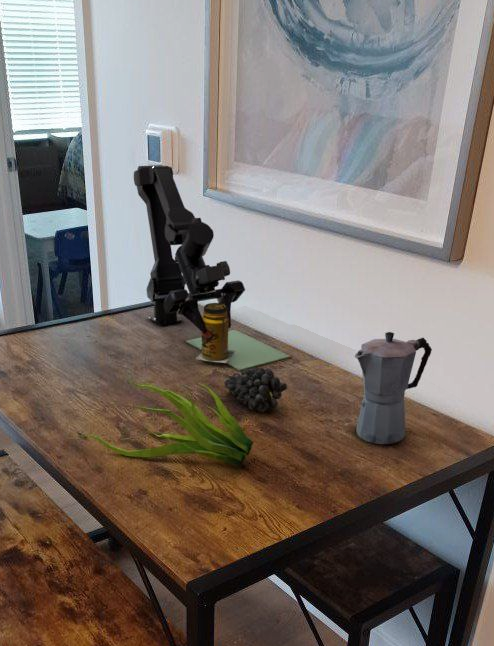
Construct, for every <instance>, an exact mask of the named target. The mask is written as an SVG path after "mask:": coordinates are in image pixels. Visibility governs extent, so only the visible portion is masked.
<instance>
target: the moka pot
mask: <svg viewBox="0 0 494 646" xmlns="http://www.w3.org/2000/svg"><path fill="white" fill-rule="evenodd" d="M384 333H385V334H384V337H385V338H374V339H371V340H369V341H366V342H364V343H362V344H361V346H360V348H361V349H359V350H358V351H357V352H356V353H355V354H354V358H355V359H357V360H358V363H359V366H360V368H361V372H362V384H363V397H362V401H361V406H360V410H359V415H358V421H357V424H356V429H355V430H356V434H357V436H358V437H359V438H360V439H361V440H363V441H365V442H368V443H371V444H374V445H392V444H395V443H399V442H400V441H402V440H403V439H404V438H405V436H406V432H407V431H406V429H407V428H406V413H405V412H406V407H405V394H406V390H409V389H414V388H416V387H418V385H419V382H420V380H421V378H422V376H423V375H422V374H423V373H424V370H425V367H426V366H427V363H428V360H429V357H431V354H432V351H433V349H432V347H431V346H430V343H429V342H427V341H428V340H427V339H425V337H420V338H418V339H416V340H415V339H409V340H406V341H404V340H400V339H397V338H394V336H395V333H394V332H393V331H387V332H384ZM420 349H423V350H424V353H423V355H422V356H421V359H420V364H419V367H418V369H417V372H416V375H415V377H414V379H413V380H412V382H410V380H411V379H410V378H411V374H412V372H413V371H412V370H413V367H414V362H415V358H416V355H417V351H419V350H420Z"/></svg>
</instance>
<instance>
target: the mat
mask: <svg viewBox="0 0 494 646" xmlns="http://www.w3.org/2000/svg"><path fill="white" fill-rule="evenodd" d="M185 343H188V344H189V345H191V346H192V347H195V348H196V349H198V350H200V351H202V349H201V348H202V347H201V346H202V336H200V337H195V338H191V339H187V340H185ZM228 349H230V350H236V351H235V353H234V354H233V355H232V356H231V358H230V359H229V360H228V361H227V362H226V363H225V364H226V365H228V366H230V367H232V368H233V369H235V370H237V371H239V372H240V371H242V370H244V369H252V368H254V367H258V366H263V365H266V364H269V363H273V362H277V361H282V360H286V359H289V358H291V355H290V354H287V353H285V352H283V351H281V350H279V349H277V348H276V347H275V348H274V347H272V346H271V345H269V344H267V343H265V342H262V341H260V340H258V339H255V338H254V337H252V336H249V335H248V334H245V333H244V332H241V331H239V330H237V329H229V330H228Z"/></svg>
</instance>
